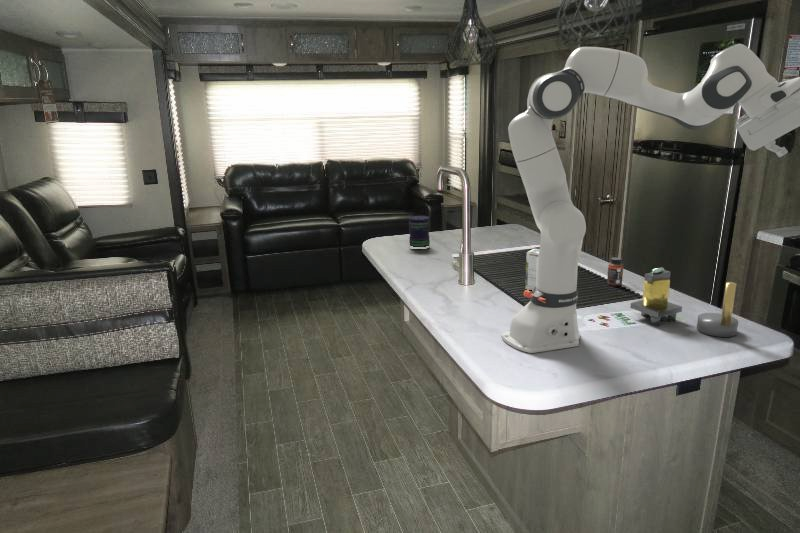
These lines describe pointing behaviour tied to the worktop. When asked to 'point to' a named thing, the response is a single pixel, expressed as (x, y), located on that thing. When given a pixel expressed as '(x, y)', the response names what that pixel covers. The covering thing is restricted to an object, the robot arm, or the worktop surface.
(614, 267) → the supplement bottle
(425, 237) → the storage jar
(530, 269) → the syrup box
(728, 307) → the footscrew knob
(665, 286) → the stand
